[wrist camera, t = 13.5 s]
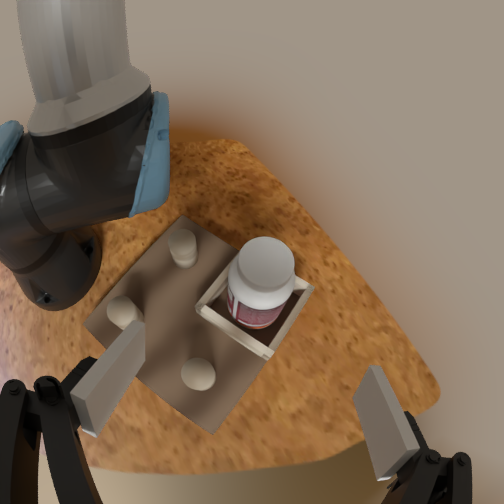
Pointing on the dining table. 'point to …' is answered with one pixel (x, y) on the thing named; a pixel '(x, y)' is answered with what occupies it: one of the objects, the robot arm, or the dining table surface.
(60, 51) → the robot arm
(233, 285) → the pill bottle
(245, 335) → the wooden organizer tray
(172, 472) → the dining table surface
